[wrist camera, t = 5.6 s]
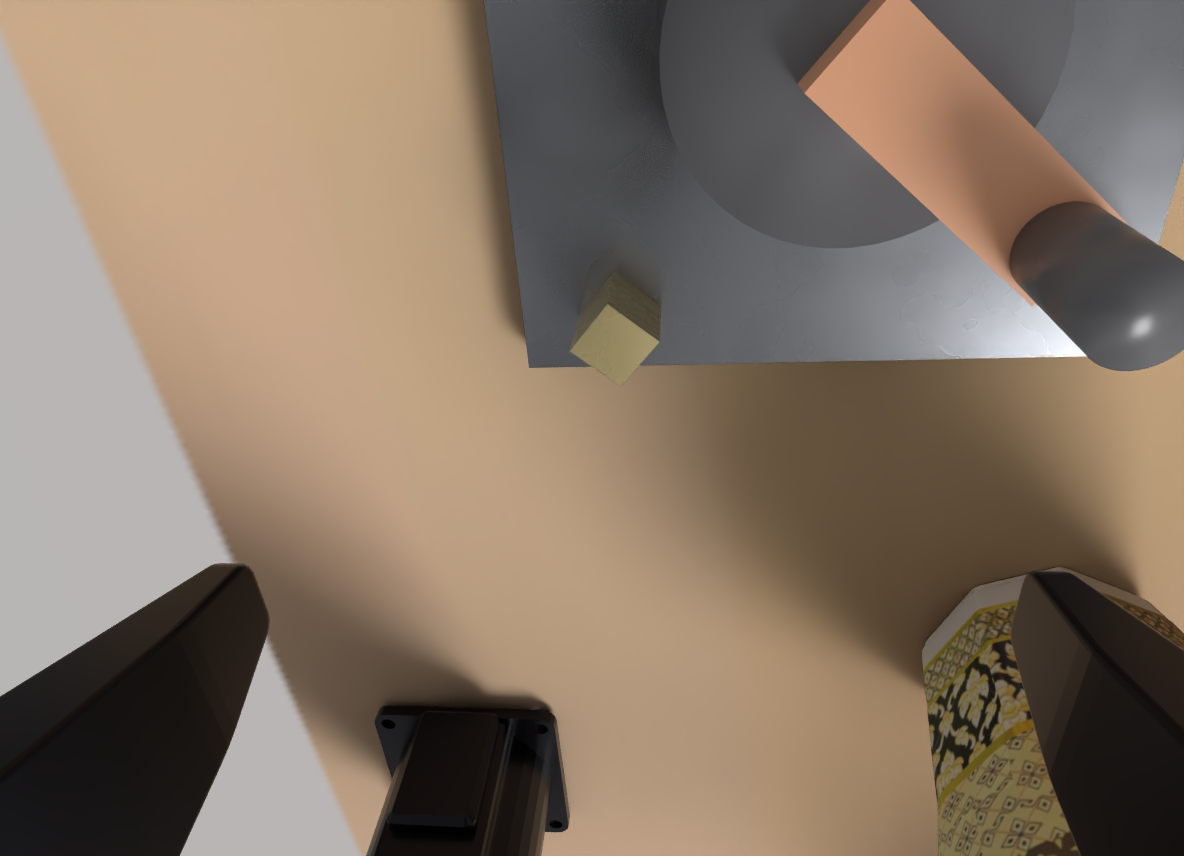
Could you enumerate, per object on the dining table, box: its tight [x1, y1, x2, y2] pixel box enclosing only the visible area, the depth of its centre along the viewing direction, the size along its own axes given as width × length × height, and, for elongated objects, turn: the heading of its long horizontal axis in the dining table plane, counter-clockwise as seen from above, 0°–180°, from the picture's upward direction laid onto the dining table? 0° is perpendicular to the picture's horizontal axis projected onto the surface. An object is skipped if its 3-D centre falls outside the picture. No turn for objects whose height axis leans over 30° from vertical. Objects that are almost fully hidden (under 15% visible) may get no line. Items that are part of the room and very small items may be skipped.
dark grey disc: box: [660, 0, 1184, 371], centre depth 13 cm, size 9×7×5 cm
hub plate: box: [484, 0, 1184, 386], centre depth 15 cm, size 14×14×3 cm
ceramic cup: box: [922, 567, 1184, 856], centre depth 21 cm, size 13×10×10 cm
